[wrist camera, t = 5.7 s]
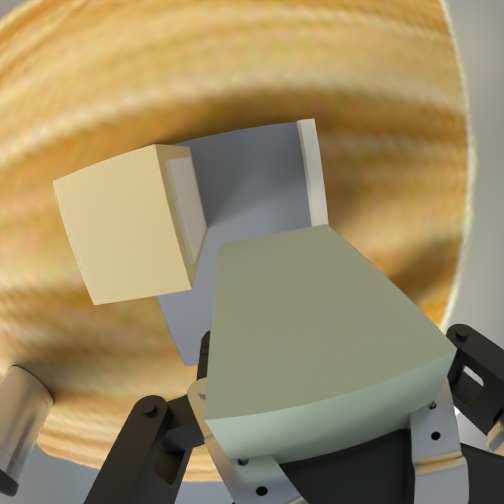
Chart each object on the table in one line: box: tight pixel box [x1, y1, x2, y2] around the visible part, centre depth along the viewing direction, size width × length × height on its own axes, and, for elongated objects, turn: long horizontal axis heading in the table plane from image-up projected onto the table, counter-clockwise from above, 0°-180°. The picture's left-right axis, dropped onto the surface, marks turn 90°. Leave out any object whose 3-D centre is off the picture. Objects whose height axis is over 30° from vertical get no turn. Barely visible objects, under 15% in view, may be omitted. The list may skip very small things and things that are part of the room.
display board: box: [156, 119, 328, 366], centre depth 21 cm, size 14×19×3 cm
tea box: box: [204, 224, 457, 466], centre depth 9 cm, size 5×7×9 cm
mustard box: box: [53, 144, 208, 305], centre depth 14 cm, size 5×6×9 cm
